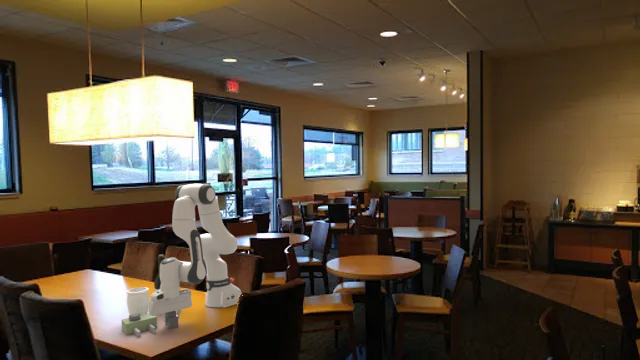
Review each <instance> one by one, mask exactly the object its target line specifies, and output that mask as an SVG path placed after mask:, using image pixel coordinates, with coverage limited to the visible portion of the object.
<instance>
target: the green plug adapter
mask: <svg viewBox="0 0 640 360" xmlns="http://www.w3.org/2000/svg"><path fill="white" fill-rule="evenodd" d="M156 328H158V318H157V315H155V316H151V315H150V314H149V313H147V314H144V315H140V314H139V313H135V314H131V315H130V314H129V315H128V318H123V319H121V330H122V332H123V333H125V335H126V336H128V335H132V334H134V335H135V336H136V337H137V338H141V332H143V331H148V330H149V331H150V333H151V334H156Z"/></svg>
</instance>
